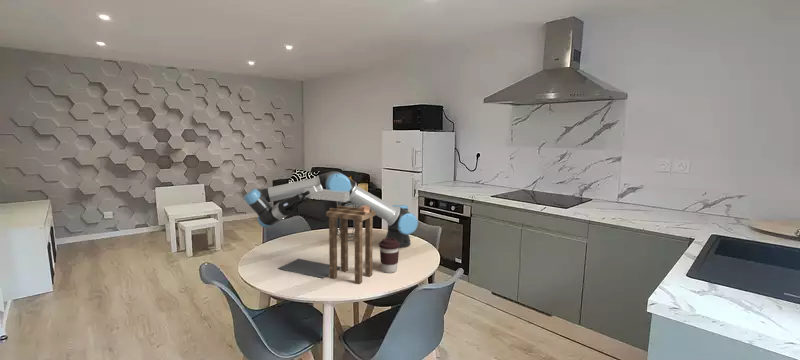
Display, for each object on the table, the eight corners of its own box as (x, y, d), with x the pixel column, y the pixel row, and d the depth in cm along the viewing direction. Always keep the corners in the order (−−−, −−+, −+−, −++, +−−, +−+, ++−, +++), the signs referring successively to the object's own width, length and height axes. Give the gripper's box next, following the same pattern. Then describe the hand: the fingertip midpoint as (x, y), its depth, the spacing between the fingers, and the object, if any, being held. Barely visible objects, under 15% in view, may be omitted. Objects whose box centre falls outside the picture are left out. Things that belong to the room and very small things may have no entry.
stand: (326, 277, 168) (326, 205, 163) (341, 269, 179) (341, 200, 174) (361, 285, 160) (361, 209, 156) (375, 275, 171) (375, 204, 167)
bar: (303, 197, 172) (303, 189, 171) (309, 196, 175) (309, 187, 175) (344, 201, 163) (344, 192, 162) (349, 200, 166) (349, 191, 166)
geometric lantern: (361, 242, 222) (360, 183, 217) (335, 244, 219) (333, 184, 214) (359, 234, 238) (357, 179, 232) (333, 236, 234) (331, 180, 229)
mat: (277, 269, 177) (277, 268, 177) (298, 259, 191) (298, 258, 191) (323, 278, 167) (323, 277, 167) (341, 267, 180) (341, 266, 180)
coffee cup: (392, 276, 171) (392, 244, 169) (374, 271, 176) (374, 240, 174) (403, 269, 179) (404, 238, 177) (386, 265, 184) (386, 235, 182)
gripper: (298, 212, 187) (332, 192, 177) (274, 219, 172) (310, 198, 162) (292, 199, 188) (326, 178, 178) (267, 205, 172) (302, 182, 163)
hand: (318, 188), depth 170 cm, fingers closed on bar, 4 cm apart
